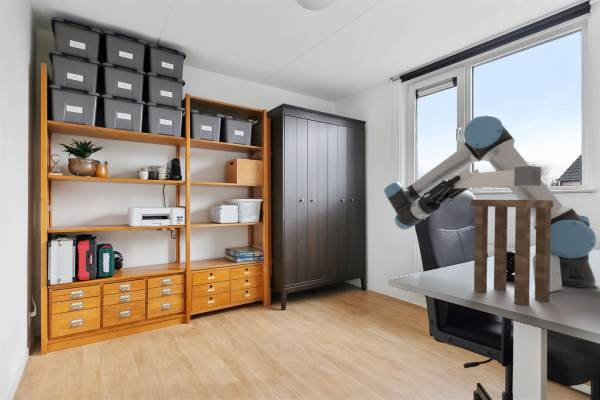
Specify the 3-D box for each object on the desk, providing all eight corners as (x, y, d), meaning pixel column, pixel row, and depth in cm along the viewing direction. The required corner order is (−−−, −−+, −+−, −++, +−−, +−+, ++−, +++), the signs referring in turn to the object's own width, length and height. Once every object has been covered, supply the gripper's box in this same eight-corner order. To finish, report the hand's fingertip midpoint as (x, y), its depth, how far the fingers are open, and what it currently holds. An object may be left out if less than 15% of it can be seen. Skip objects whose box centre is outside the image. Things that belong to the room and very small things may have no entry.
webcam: (505, 282, 106) (505, 253, 106) (491, 277, 114) (492, 249, 114) (527, 282, 106) (528, 253, 106) (512, 277, 114) (513, 249, 114)
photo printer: (548, 287, 102) (544, 249, 103) (564, 289, 98) (560, 250, 99) (533, 291, 97) (529, 251, 98) (549, 293, 93) (545, 252, 94)
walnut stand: (495, 286, 101) (496, 200, 101) (551, 301, 86) (552, 200, 86) (469, 289, 96) (470, 199, 96) (523, 306, 82) (525, 199, 82)
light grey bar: (456, 188, 111) (457, 173, 111) (540, 185, 86) (541, 167, 86) (446, 188, 109) (446, 173, 109) (529, 185, 84) (529, 165, 84)
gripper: (445, 214, 122) (496, 182, 104) (412, 214, 116) (460, 180, 97) (438, 197, 126) (486, 164, 107) (405, 197, 119) (450, 161, 100)
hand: (473, 172), depth 102 cm, fingers closed on light grey bar, 4 cm apart
